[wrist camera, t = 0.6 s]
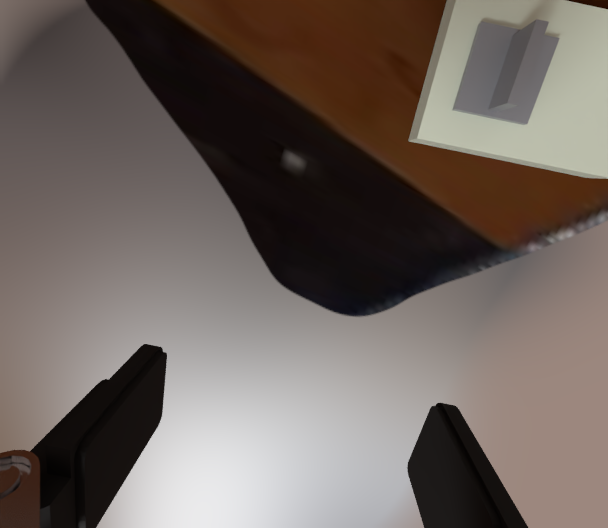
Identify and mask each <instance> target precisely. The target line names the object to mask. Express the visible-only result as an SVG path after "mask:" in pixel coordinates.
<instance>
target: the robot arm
mask: <svg viewBox="0 0 608 528" xmlns="http://www.w3.org/2000/svg"><path fill="white" fill-rule="evenodd" d="M166 359H167V354H166V353H164V352H163V350H162V348H161V347H158V346H153V345H148V344H144V345H143V346H141V347H140V348H139V349H138V350H137V352H135V353H134V354H133V355H132V356H131V357H130V359H129V360H128V361H127V362H126V363H125V364H124V365H123V366H122V367H121V368H120V369H119V370H118V371H117V372H116V373H115V374H114V375H113V376H112V377H111V378H110V379H109V380H107V379H105V380H102V381H101V382H100V383H98V384H97V385H96V386H95V387H94V388H93V389H92V390H91V391H90V392H89V393H88V394H87V395H86V396H85V397H84V398H83V399H82V400H81V401H80V402H79V403H78V404H77V405H76V406H75V407H74V408H73V409H72V410H71V411H70V412H69V413H68V414H67V415H66V416H65V417H64V418H63V419H62V420H61V421H60V422H59V423H58V424H57V425H56V426H55V427H54V428H53V429H52V430H51V431H50V432H49V433H48V434H47V435H46V436H45V437H44V438H43V439H42V440H41V441H40V442H39V443H38V444H37V445H36V446H35V447H34V448H33V449H32V450H31V451H30V452H29V451H26V450H12V451H7V452H3V453H0V528H96V527H97V525H98V523H99V522H100V520H101V518H102V517H103V515H104V514H105V512H106V510H107V509H108V507H109V505H110V504H111V502H112V500H113V499H114V497H115V495H116V494H117V492H118V491H119V489H120V487H121V486H122V484H123V482H124V481H125V479H126V477H127V476H128V474H129V473H130V471H131V469H132V468H133V466H134V464H135V463H136V461H137V459H138V458H139V456H140V455H141V453H142V451H143V449H144V448H145V446H146V445H147V443H148V441H149V440H150V438H151V436H152V435H153V433H154V432H155V430H156V428H157V427H158V425H159V423H160V420H161V417H162V409H163V397H164V385H165V373H166V372H165V371H166ZM408 475H409V478H410V482H411V485H412V488H413V492H414V494H415V498H416V501H417V505H418V508H419V512H420V515H421V518H422V521H423V525H424V528H528V526H527V525H526V523H525V521H524V520H523V518H522V516H521V514H520V513H519V511H518V510H517V508H516V506H515V504H514V503H513V501H512V499H511V498H510V496H509V494H508V493H507V491H506V489H505V487H504V486H503V484H502V482H501V481H500V479H499V477H498V475H497V474H496V472H495V470H494V469H493V467H492V465H491V464H490V462H489V460H488V458H487V457H486V455H485V454H484V452H483V450H482V448H481V447H480V445H479V443H478V442H477V440H476V438H475V437H474V435H473V433H472V431H471V430H470V428H469V426H468V424H467V423H466V421H465V419H464V418H463V416H462V414H461V413H460V411H459V409H458V408H457V407H456V406H453V405H448V404H443V403H437V404H436V406H432V407H431V409H430V411H429V413H428V416H427V418H426V421H425V423H424V425H423V428H422V430H421V433H420V435H419V437H418V440H417V442H416V445H415V447H414V450H413V452H412V455H411V457H410V459H409V462H408Z"/></svg>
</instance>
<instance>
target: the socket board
mask: <svg viewBox="0 0 608 528" xmlns="http://www.w3.org/2000/svg"><path fill="white" fill-rule="evenodd" d="M536 19H538V20H543V21H548V22H549V23H548V26H547V29H546V32H545V34H544V35H548V36H552V37H557V38H560V39H559V41H558V44H557V47H556V49H555V52H554V55H553V57H552V60H551V63H550V65H549V68H548V71H547V73H546V76H545V79H544V81H543V84H542V87H541V89H540V92H539V95H538V97H537V100H536V103H535V105H534V108H533V111H532V113H531V116H530V118H529V121H528V124H526V125H521V124H516V123H511V122H506V121H502V120H497V119H492V118H487V117H482V116H478V115H473V114H468V113H463V112H458V111H454V110H452V109H453V106H454V103H455V99H456V96H457V93H458V89H459V86H460V83H461V80H462V76H463V73H464V70H465V67H466V63H467V60H468V57H469V53H470V50H471V47H472V44H473V40H474V37H475V34H476V31H477V27H478V24H479V23H481V22H482V21H483V22H487V23H492V24H497V25H501V26H506V27H511V28H515V29H520V30H521V29H523V28H524V27H526V26H527V25H529V24H530V23H532V22H533V21H535V20H536ZM408 141H411V142H415V143H420V144H425V145H430V146H435V147H440V148H445V149H449V150H454V151H459V152H464V153H469V154H474V155H479V156H483V157H488V158H493V159H498V160H503V161H508V162H513V163H517V164H522V165H527V166H532V167H537V168H542V169H547V170H552V171H556V172H561V173H566V174H571V175H576V176H581V177H586V178H607V179H608V9H603V8H599V7H594V6H589V5H585V4H580V3H576V2H571V1H567V0H447V1H446V5H445V9H444V12H443V16H442V20H441V23H440V27H439V31H438V34H437V38H436V42H435V45H434V49H433V53H432V56H431V60H430V63H429V67H428V71H427V74H426V78H425V82H424V85H423V89H422V93H421V96H420V100H419V104H418V107H417V111H416V115H415V118H414V122H413V126H412V129H411V133H410V136H409V140H408Z"/></svg>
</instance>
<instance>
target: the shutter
mask: <svg viewBox="0 0 608 528" xmlns="http://www.w3.org/2000/svg"><path fill="white" fill-rule="evenodd" d="M548 23H549V22H548V21H543V20H538V19H536V20H535V21H533V22H532V23H530V24H529V25H527V26H526V27H524V28H523V29H521V30H520V29H515V28H511V27H506V26H501V25H497V24H492V23H487V22H483V21H482V22H481V23H479V24H478V27H477V31H476V34H475V37H474V40H473V44H472V47H471V50H470V53H469V57H468V60H467V63H466V67H465V70H464V73H463V76H462V80H461V83H460V86H459V89H458V93H457V96H456V99H455V103H454V106H453V109H452V110H454V111H458V112H463V113H468V114H473V115H478V116H482V117H487V118H492V119H497V120H502V121H506V122H511V123H516V124H521V125H526V124H528V121H529V118H530V116H531V113H532V111H533V108H534V105H535V103H536V100H537V97H538V95H539V92H540V89H541V87H542V84H543V81H544V79H545V76H546V73H547V71H548V68H549V65H550V63H551V60H552V57H553V55H554V52H555V49H556V47H557V44H558V41H559V39H560V38H557V37H552V36H548V35H544V34H545V32H546V29H547V26H548Z"/></svg>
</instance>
